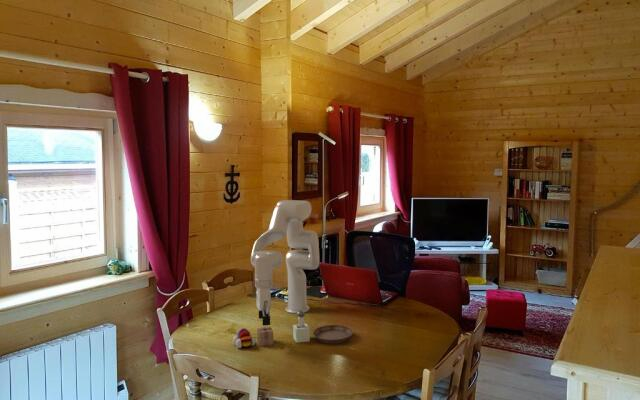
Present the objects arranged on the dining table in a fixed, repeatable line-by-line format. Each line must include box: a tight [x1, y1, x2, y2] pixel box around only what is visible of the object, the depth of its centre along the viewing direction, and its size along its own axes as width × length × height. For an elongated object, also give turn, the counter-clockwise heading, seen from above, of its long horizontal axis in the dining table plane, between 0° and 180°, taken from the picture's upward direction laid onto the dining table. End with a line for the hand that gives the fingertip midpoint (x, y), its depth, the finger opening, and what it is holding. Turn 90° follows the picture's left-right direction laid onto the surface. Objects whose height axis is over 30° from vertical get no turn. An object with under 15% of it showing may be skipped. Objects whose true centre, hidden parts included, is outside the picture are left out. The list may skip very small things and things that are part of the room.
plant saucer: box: [312, 324, 354, 344], centre depth 235 cm, size 18×18×3 cm
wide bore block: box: [292, 323, 311, 343], centre depth 233 cm, size 6×6×6 cm
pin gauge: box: [297, 311, 305, 328], centre depth 233 cm, size 3×3×12 cm
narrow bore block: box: [256, 326, 274, 347], centre depth 230 cm, size 6×6×6 cm
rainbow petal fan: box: [232, 327, 256, 349], centre depth 228 cm, size 8×10×7 cm
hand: (264, 321), depth 229 cm, fingers open, 9 cm apart
